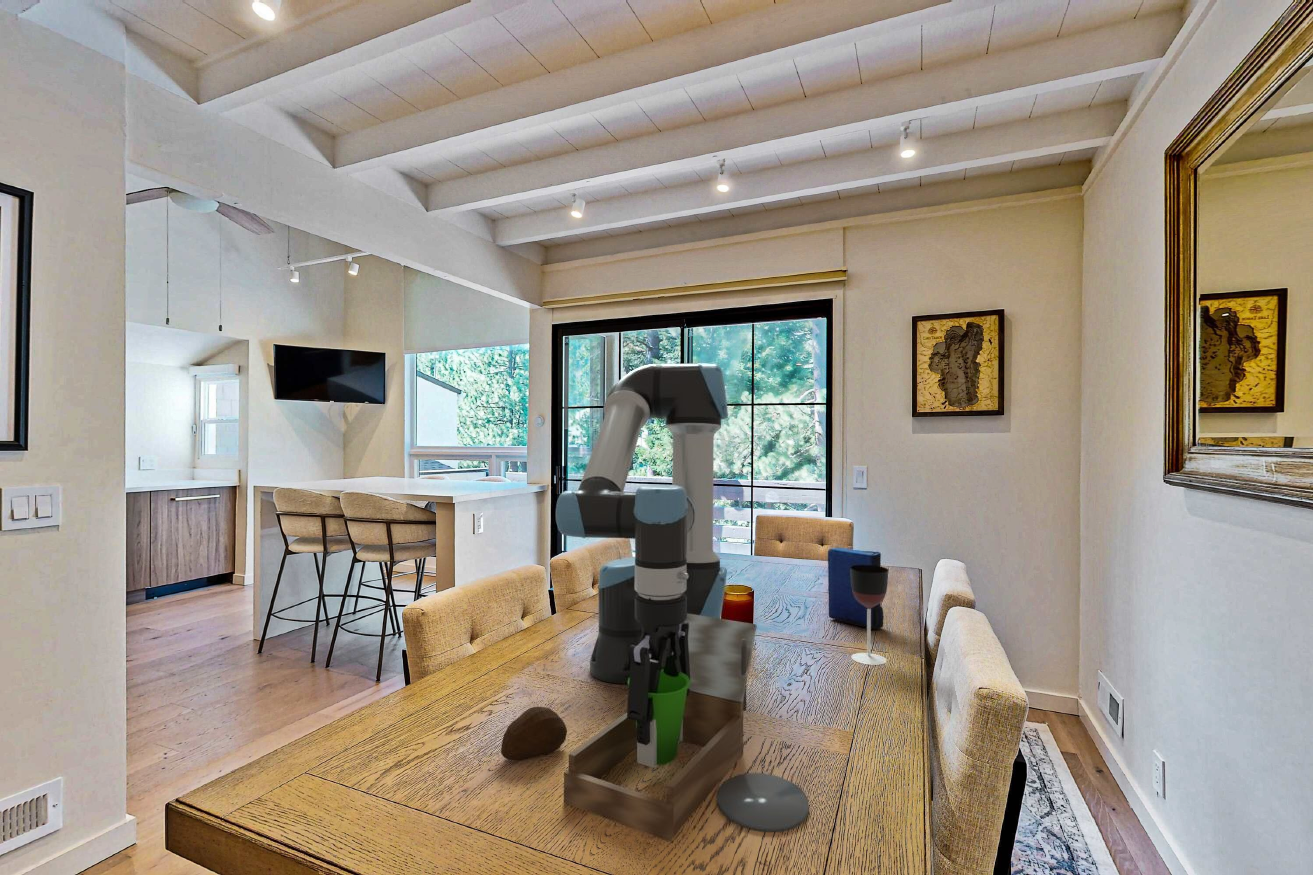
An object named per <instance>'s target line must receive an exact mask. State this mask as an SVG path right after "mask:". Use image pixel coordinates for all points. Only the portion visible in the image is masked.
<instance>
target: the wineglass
mask: <svg viewBox="0 0 1313 875" xmlns="http://www.w3.org/2000/svg"><path fill="white" fill-rule="evenodd" d="M850 574H851V587H852V592H853V594H854V597H855V598H856V600H857V601H858V602H859V603H861V604H862V605H864V606H865V607H867V627H866V641H867V642H866V652H857V653H854V654H851V656H850V658H851V659H852V660H853V661H855V662H857V663H860V664H865V665H869V666H870V665H872V666H876V665H877V666H878V665H884V664H886V663H887V661H888V660H887V658H885V657H884V656H882V655H880V654H875V653H871V651H872V650H871V649H872V648H871V643H872V640H871V639H872V638H871V636H872V634H871V633H872V631H871V630H872V629H871V608H872V607H874V606H876V605H878V604H880V603H881V604H882V602H883V601H884V599H885V597H886V595H887V591H888V583H889V569H888V568H886V567H884V566H881V567H880V566H874V565H854V566H851V567H850Z"/></svg>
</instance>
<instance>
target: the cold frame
mask: <svg viewBox="0 0 1313 875" xmlns="http://www.w3.org/2000/svg"><path fill="white" fill-rule="evenodd" d="M684 622H686V623H689V632H688V648H689V664H690V686H689V687H688V689H690V692H689V695H688V696H686V700H685V706H684V713H683V740H682V741H684V742H687V743H691V744H694V745H698V746H700V747H701V746H702V748H701V749H700V751H698V753H696V754H695V755H694V756H693V758H692V759H691V760H689V761H688V763H687V764H685V766H684V767H683V768H682V769H681V770H680V771H679V772H678V773H677V774H675V776H674V777H673V778H672V779H671V780H670V781H669V782H668V783H667V784H666V786H665V787H666V800H663V799H660V798H657V797H653V796H651V795H648V794H644V793H642V792H638V791H635V790H633V789H630V788H627V787H624V786H621V785H617V784H614V783H611V782H609V781H605V780H604V779H602V778H604V777H605V776H606V775H607V774H608V773H610V772H611V771H612V770H613V769H614V768H616V766H619V764H621V763H622V762H623V761H624V760H625V759H626V758H628V757H629V756H630V755H632V753H633V752H635V751H637V728H636V721H635V720H632V719H628V718H627V712H625V713H623V714H622V715H621V716H620V717H618V718H617V719H616V720H614V721H613V722H611V723H610V724H608V725H607V726H605V727H604V728H603V729H602V730H600V731H599V732H597V733H596V734H594V735H593V736H592V737H590V738H589V739H588V740H586V741H585V742H584V743H582V744H580V745H579V746H578V747H576V748H575V749H573V750H572V751H570V752H569V753H568V768H567V769H566V770H565V771H564V772H563V803H564V804H566V805H568V806H572V807H575V808H577V809H580V810H582V811H585V812H588V813H591V814H594V815H596V816H599V817H601V818H605V819H608V820H610V821H613V822H616V823H618V824H621V825H623V826H626V827H627V828H628V827H629V828H631V829H634V830H637V831H639V832H643V833H645V834H647V835H651V836H654V837H656V838H659V839H660V840H661V839H662V840H664V841H666V842H671V841H672V840H673V838H674V837H675V836H676V835H677V834H678V832H679V831H680V830H681V829H682V828H683V826H684V825H685V824H686V823H687V822H688V820H690V818H691V817H692V815H693V814H694V813H695V812H696V811H697V810H698V809H699V807H700V806H701V805H702V804H703V802H704V801H705V800H706V799H707V798H708V796H709V795H710V794H711V793H712V791H713V790H714V789H715V788H716V787H717V786H718V784H719V783H720V782H721V781H722V779H723V778H724V777H725V776H726V775H727V774H728V772H729V771H730V770H731V769H732V768H733V766H734V765H735V764H736V763H737V762H738V761H739V759H740V758H741V757H742V755H743V754H744V712H747V683H748V677H749V673H750V672H749V671H750V665H751V660H752V655H753V648H754V644H755V637H756V633H757V632H756V631H757V625H756V623H749V622H743V621H737V620H731V619H724V618H720V619H719V618H713V617H706V616H700V615H694V614H687V618H686V620H685V621H684ZM656 663H658V661H656ZM682 741H681V742H682Z"/></svg>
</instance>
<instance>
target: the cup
mask: <svg viewBox="0 0 1313 875" xmlns="http://www.w3.org/2000/svg"><path fill="white" fill-rule="evenodd" d="M627 683H628V684H627V686H628V687H629V679H628V682H627ZM689 686H690V679H689V678H688V676H687V675H685V674H684V673H682V672H679V674H678V677H671V676H668V675H666V674H665V673H664V671H663V669H662V670H661V673H660V679H659V685H658V691H657V693H648V698H651V697H653V708H654V715H653V719H656V731H657V765H656V766H664V765H668V764H671V763H672V762H674V760H675V759H676V758H677V756H678V750H679V743H680V742H679V738H680V732H681V725H682V719H683V713H684V706H685V700H686V694H687V688H688V687H689ZM636 728H637V721H636Z"/></svg>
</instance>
